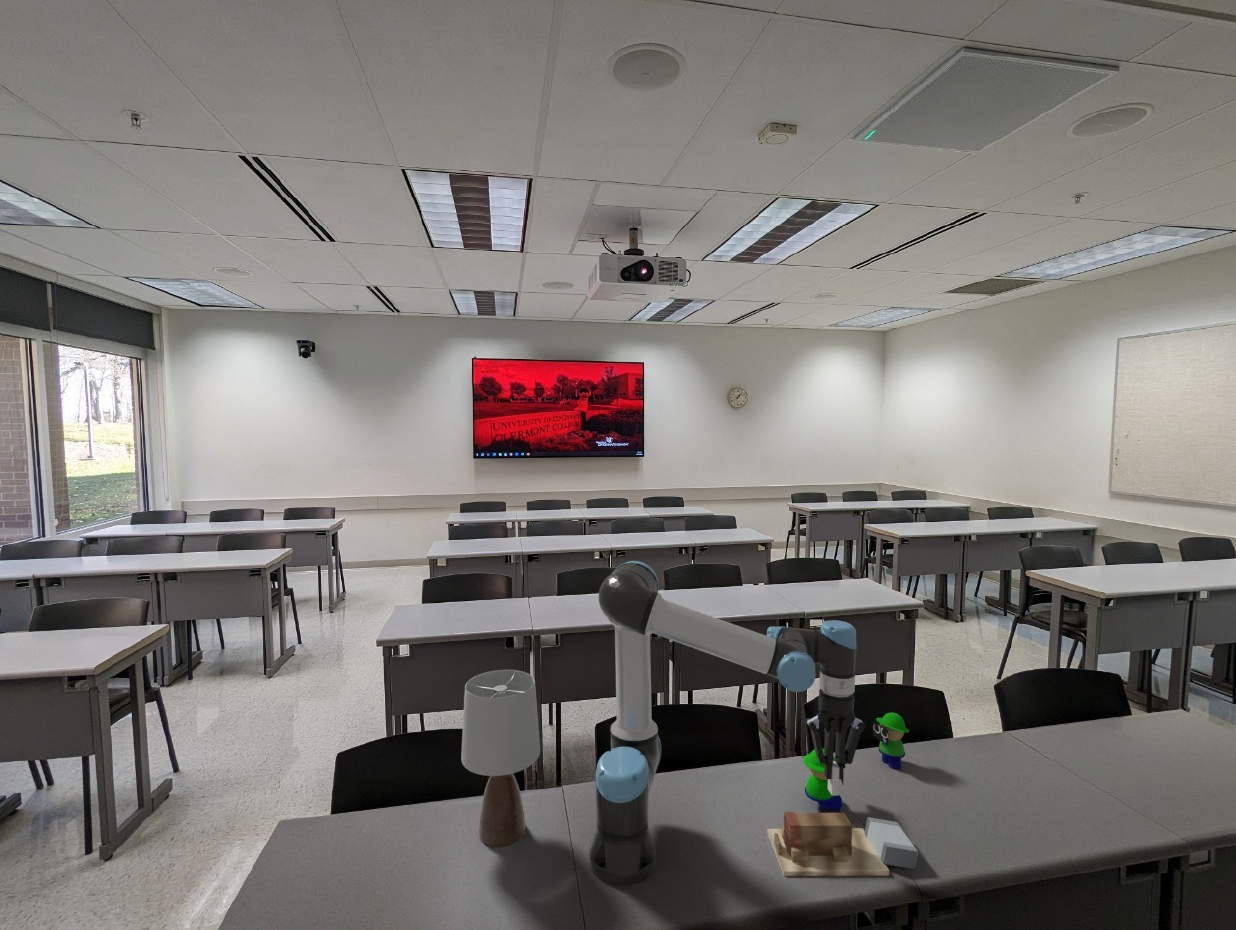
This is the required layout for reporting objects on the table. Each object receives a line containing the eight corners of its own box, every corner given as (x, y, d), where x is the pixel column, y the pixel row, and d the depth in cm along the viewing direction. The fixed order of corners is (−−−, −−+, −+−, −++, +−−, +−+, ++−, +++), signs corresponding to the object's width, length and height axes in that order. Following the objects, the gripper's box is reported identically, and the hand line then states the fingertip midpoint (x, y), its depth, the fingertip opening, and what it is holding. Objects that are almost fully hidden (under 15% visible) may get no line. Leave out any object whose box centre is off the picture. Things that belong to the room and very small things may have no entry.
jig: (783, 876, 129) (784, 860, 129) (767, 833, 143) (767, 818, 143) (889, 876, 129) (889, 859, 129) (862, 833, 143) (862, 818, 143)
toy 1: (844, 820, 148) (845, 761, 147) (805, 815, 150) (805, 757, 149) (837, 794, 159) (838, 739, 158) (801, 790, 160) (801, 736, 160)
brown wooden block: (789, 856, 134) (790, 825, 133) (783, 842, 138) (784, 812, 138) (851, 855, 134) (852, 824, 133) (843, 841, 138) (844, 811, 138)
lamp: (552, 815, 150) (551, 672, 148) (521, 866, 132) (519, 704, 131) (486, 803, 155) (484, 664, 153) (447, 851, 137) (444, 695, 136)
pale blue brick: (886, 846, 131) (918, 851, 131) (867, 817, 141) (896, 822, 141) (883, 863, 131) (914, 869, 131) (864, 833, 141) (893, 838, 141)
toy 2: (868, 758, 176) (869, 709, 175) (892, 753, 179) (893, 704, 178) (890, 774, 168) (891, 722, 167) (915, 769, 170) (916, 718, 170)
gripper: (813, 698, 130) (810, 801, 132) (872, 698, 131) (868, 802, 132) (802, 683, 138) (799, 782, 139) (858, 684, 138) (854, 782, 139)
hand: (832, 791), depth 136 cm, fingers closed
